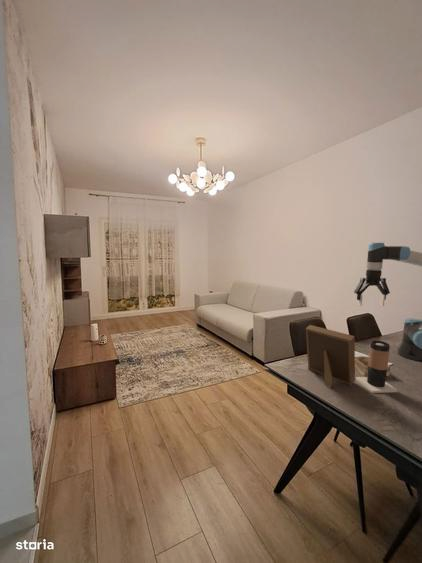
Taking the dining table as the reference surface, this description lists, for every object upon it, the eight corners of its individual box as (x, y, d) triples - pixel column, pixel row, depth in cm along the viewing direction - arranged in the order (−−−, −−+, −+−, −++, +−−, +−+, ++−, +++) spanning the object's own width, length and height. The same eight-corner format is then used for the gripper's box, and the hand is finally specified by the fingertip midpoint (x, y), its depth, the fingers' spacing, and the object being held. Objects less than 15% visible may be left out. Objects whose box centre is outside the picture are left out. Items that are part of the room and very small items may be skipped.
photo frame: (312, 366, 141) (315, 322, 137) (354, 382, 125) (359, 333, 121) (297, 375, 131) (300, 328, 128) (341, 394, 115) (346, 341, 111)
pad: (378, 378, 129) (378, 376, 128) (397, 392, 117) (397, 390, 117) (355, 379, 128) (355, 377, 128) (372, 392, 116) (372, 390, 116)
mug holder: (371, 364, 144) (372, 356, 144) (389, 376, 132) (390, 366, 131) (349, 364, 144) (350, 356, 143) (364, 376, 131) (365, 367, 130)
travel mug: (388, 388, 118) (393, 347, 115) (370, 386, 119) (374, 345, 116) (381, 380, 125) (385, 341, 122) (363, 378, 127) (367, 339, 124)
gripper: (389, 269, 152) (386, 303, 155) (349, 268, 151) (346, 304, 154) (399, 270, 145) (395, 306, 148) (357, 270, 143) (354, 306, 146)
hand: (370, 305), depth 151 cm, fingers open, 13 cm apart
